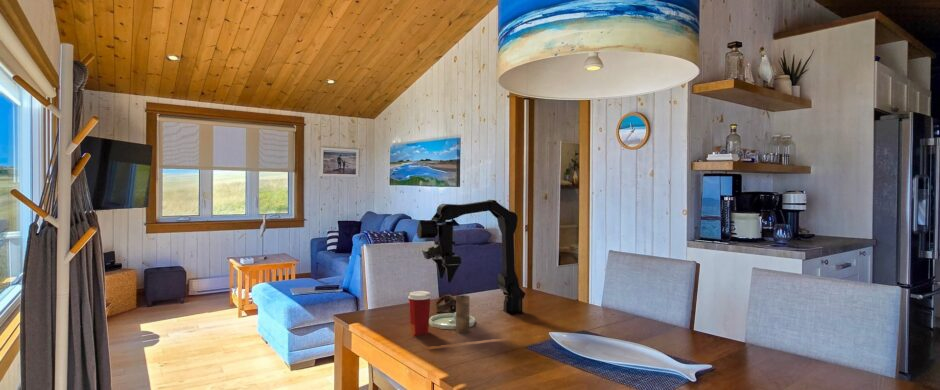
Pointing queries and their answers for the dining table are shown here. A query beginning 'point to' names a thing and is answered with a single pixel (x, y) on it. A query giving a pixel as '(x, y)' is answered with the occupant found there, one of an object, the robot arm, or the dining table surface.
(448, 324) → the green tray
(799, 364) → the dining table surface
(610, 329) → the dining table surface
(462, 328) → the pepper grinder
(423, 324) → the paper cup
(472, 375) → the dining table surface
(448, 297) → the brown hollow cylinder
